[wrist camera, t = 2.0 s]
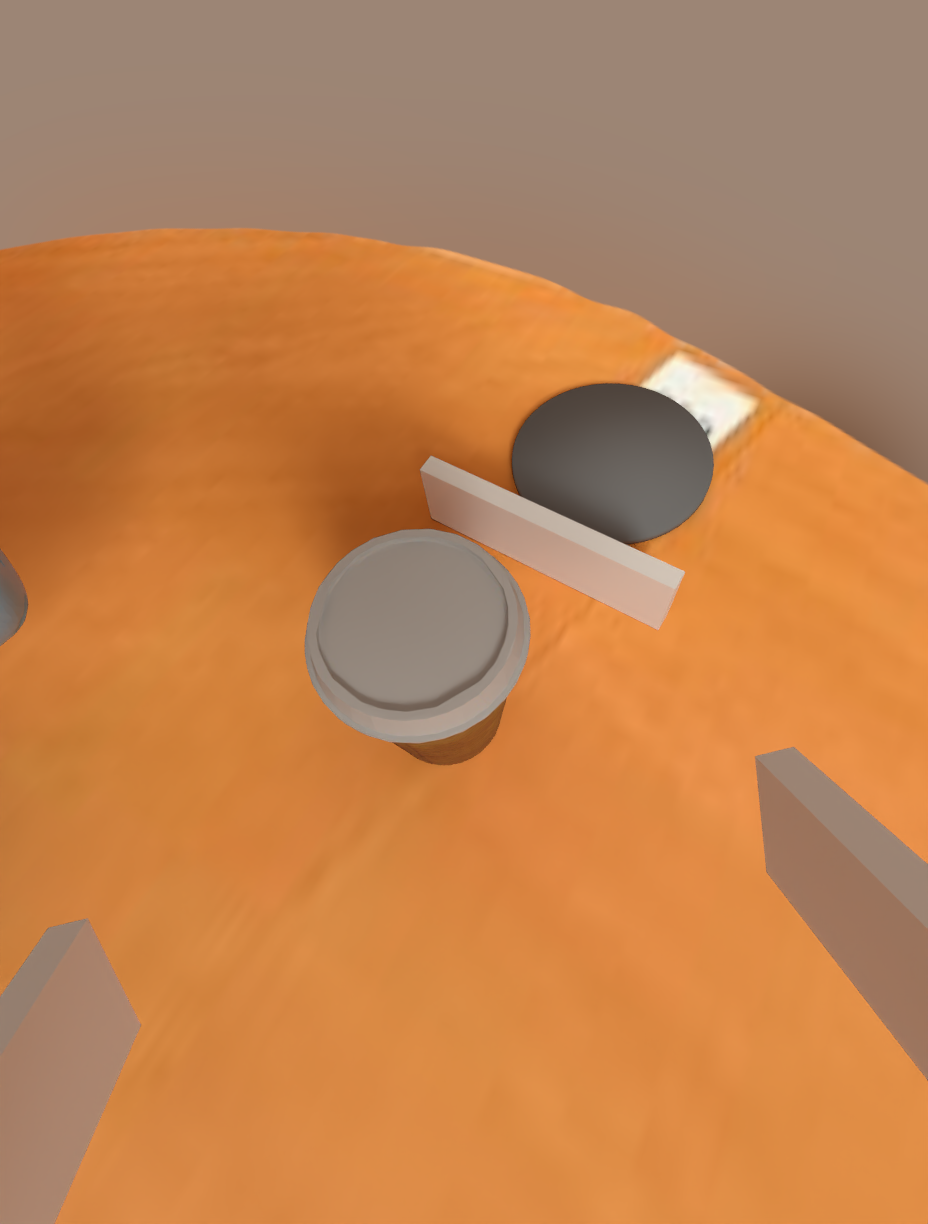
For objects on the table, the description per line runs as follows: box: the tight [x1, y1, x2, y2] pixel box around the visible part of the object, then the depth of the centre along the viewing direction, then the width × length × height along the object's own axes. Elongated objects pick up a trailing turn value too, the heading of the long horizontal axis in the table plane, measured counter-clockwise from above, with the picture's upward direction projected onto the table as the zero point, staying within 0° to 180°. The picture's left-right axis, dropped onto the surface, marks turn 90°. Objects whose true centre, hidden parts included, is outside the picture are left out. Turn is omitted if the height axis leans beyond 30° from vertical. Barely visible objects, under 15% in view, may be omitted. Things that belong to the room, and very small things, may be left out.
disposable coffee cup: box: [305, 529, 530, 765], centre depth 32 cm, size 10×10×12 cm
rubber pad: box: [512, 384, 714, 544], centre depth 43 cm, size 13×13×1 cm
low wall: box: [420, 456, 685, 630], centre depth 38 cm, size 16×1×5 cm, turn 57°
